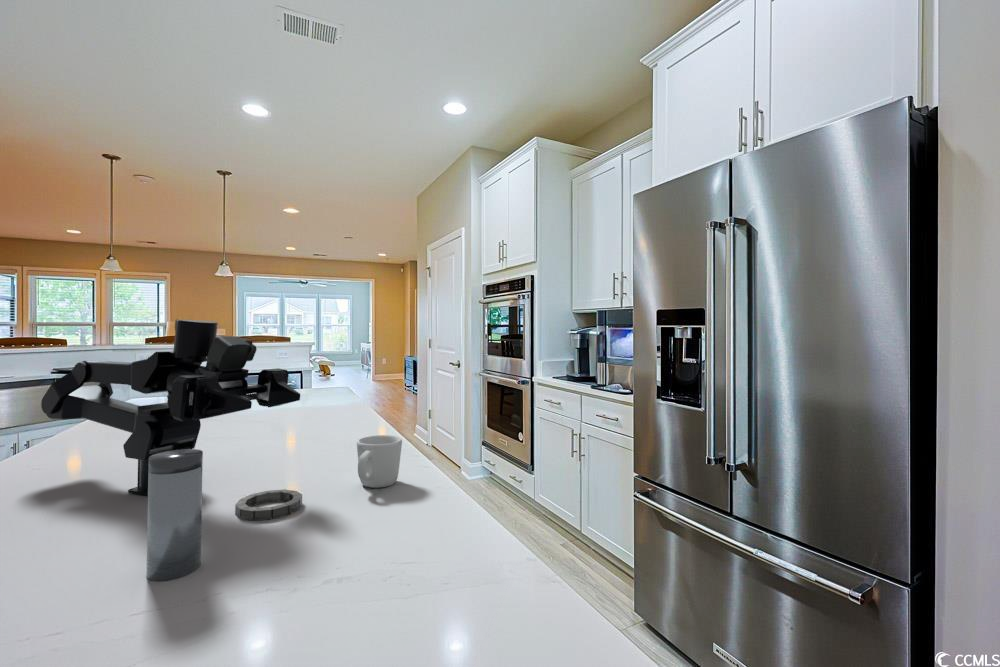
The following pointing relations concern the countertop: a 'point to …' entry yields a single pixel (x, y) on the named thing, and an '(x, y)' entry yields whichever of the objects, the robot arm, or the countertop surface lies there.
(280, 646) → the countertop surface
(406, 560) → the countertop surface
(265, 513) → the ring
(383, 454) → the cup
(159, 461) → the dark grey metallic cylinder
